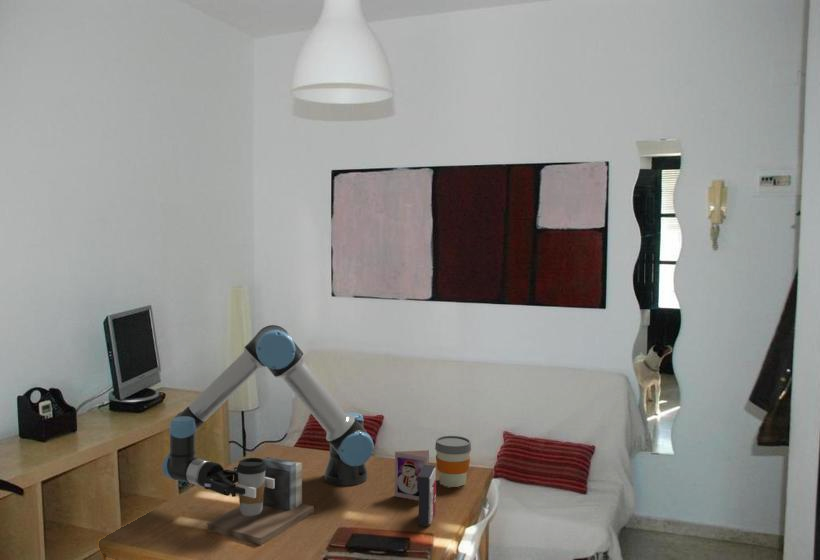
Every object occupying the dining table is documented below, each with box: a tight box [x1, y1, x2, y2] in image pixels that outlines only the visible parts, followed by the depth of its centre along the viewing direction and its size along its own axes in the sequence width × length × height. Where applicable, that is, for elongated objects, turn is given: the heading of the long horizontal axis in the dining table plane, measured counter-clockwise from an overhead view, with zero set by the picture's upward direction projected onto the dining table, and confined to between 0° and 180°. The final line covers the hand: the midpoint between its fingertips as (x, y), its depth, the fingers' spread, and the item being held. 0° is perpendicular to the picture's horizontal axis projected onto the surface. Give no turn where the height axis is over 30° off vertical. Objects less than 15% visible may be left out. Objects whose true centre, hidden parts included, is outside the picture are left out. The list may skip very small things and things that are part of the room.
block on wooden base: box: [206, 456, 315, 546], centre depth 200 cm, size 20×25×16 cm
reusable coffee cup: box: [434, 435, 472, 488], centre depth 233 cm, size 13×13×15 cm
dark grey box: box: [417, 464, 437, 527], centre depth 203 cm, size 11×4×15 cm, turn 168°
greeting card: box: [393, 449, 430, 501], centre depth 221 cm, size 11×7×15 cm, turn 65°
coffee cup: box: [237, 457, 266, 516], centre depth 196 cm, size 8×8×15 cm
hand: (264, 488), depth 193 cm, fingers closed on coffee cup, 7 cm apart
